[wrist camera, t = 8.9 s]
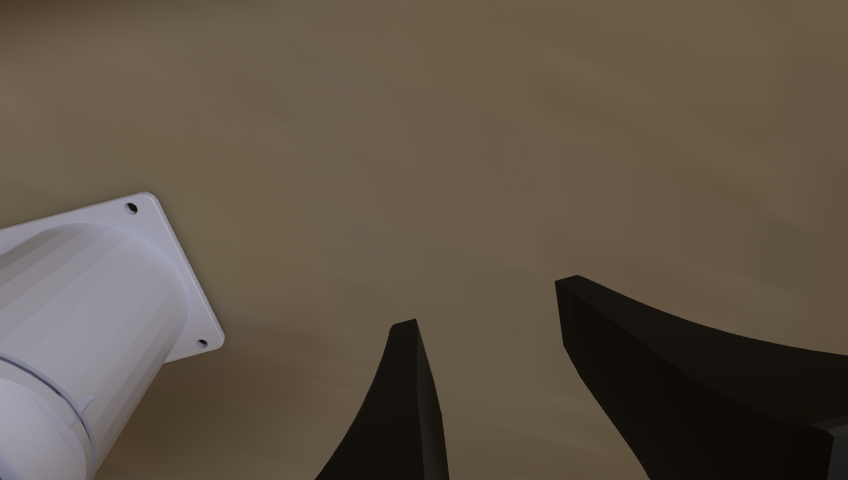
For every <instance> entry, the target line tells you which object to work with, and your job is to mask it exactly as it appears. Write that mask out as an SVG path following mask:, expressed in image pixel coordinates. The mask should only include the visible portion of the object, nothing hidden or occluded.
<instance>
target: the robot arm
mask: <svg viewBox="0 0 848 480" xmlns="http://www.w3.org/2000/svg"><path fill="white" fill-rule="evenodd" d="M128 203H133V204H135V205H136V206H137V209H138V211H137V212H134V211H132V210H130V209H129V207H128ZM555 287H556V294H557V302H558V309H559V317H560V324H561V331H562V339H563V345H564V347H565V349H566V351H567V353H568V355H569V357H570V359H571V361H572V363H573V365H574V366H575V368H576V370H577V372H578V374H579V376H580V377H581V379H582V380H583V382H584V383H585V385H586V386H587V387H588V389H589V390H590V392H591V393H592V395H593V396H594V397H595V399H596V400H597V402H598V403H599V404H600V406H601V407H602V409H603V410H604V411H605V413H606V414H607V416H608V417H609V418H610V420H611V421H612V423H613V424H614V425H615V427H616V428H617V430H618V431H619V433H620V434H621V435H622V437H623V438H624V440H625V441H626V442H627V444H628V445H629V447H630V448H631V449H632V451H633V453H634V454H635V456H636V457H637V459H638V460H639V462H640V463H641V465H642V466H643V468H644V470H645V472H646V473H647V475H648V477H649V479H650V480H848V356H847V355H840V354H834V353H827V352H820V351H813V350H807V349H802V348H796V347H790V346H785V345H780V344H776V343H771V342H766V341H762V340H757V339H752V338H748V337H744V336H740V335H736V334H732V333H728V332H725V331H721V330H718V329H714V328H711V327H707V326H704V325H700V324H697V323H694V322H691V321H688V320H685V319H682V318H680V317H677V316H674V315H671V314H669V313H666V312H663V311H660V310H658V309H655V308H653V307H650V306H648V305H645V304H643V303H641V302H638V301H636V300H634V299H631V298H629V297H627V296H624V295H622V294H620V293H618V292H615V291H613V290H611V289H609V288H607V287H604V286H602V285H600V284H598V283H596V282H593V281H591V280H589V279H586V278H584V277H582V276H579V275H575V276H572V277H568V278H564V279H561V280H557V281H555ZM199 340H205V341H206V342H207V344H202V343H200V342H199ZM224 340H225V335H224V333H223V331H222V329H221V327H220V325H219V323H218V321H217V319H216V317H215V315H214V313H213V311H212V309H211V307H210V305H209V303H208V301H207V298H206V296H205V294H204V292H203V290H202V288H201V286H200V284H199V282H198V280H197V278H196V276H195V274H194V272H193V270H192V268H191V266H190V264H189V262H188V260H187V258H186V256H185V254H184V252H183V250H182V248H181V246H180V244H179V242H178V240H177V238H176V236H175V234H174V232H173V230H172V228H171V226H170V224H169V222H168V220H167V218H166V216H165V214H164V212H163V210H162V208H161V206H160V203H159V201H158V200H157V198H156V197H155V196H154V195H152V194H151V193H148V192H139V193H135V194H131V195H128V196H124V197H120V198H116V199H112V200H108V201H105V202H101V203H97V204H93V205H89V206H86V207H82V208H78V209H74V210H70V211H66V212H63V213H59V214H55V215H51V216H47V217H44V218H40V219H36V220H32V221H28V222H24V223H21V224H17V225H13V226H9V227H5V228H2V229H0V480H92V479H93V478H94V476H95V474H96V473H97V471H98V469H99V468H100V466H101V464H102V463H103V461H104V460H105V458H106V456H107V455H108V453H109V451H110V450H111V448H112V446H113V445H114V443H115V442H116V440H117V438H118V437H119V435H120V433H121V432H122V430H123V428H124V427H125V425H126V424H127V422H128V420H129V419H130V417H131V415H132V414H133V412H134V410H135V409H136V407H137V406H138V404H139V402H140V401H141V399H142V397H143V396H144V394H145V392H146V391H147V389H148V388H149V386H150V384H151V383H152V381H153V379H154V378H155V376H156V374H157V373H158V371H159V370H160V368H161V366H162V365H163V364H164V363H168V362H171V361H175V360H179V359H182V358H186V357H190V356H193V355H197V354H201V353H204V352H208V351H212V350H215V349H218V348H220V347H221V346H222V345H223V343H224ZM315 480H449V472H448V463H447V455H446V446H445V438H444V430H443V422H442V414H441V410H440V406H439V401H438V397H437V393H436V388H435V384H434V380H433V376H432V373H431V369H430V366H429V362H428V359H427V355H426V352H425V348H424V345H423V341H422V338H421V334H420V331H419V327H418V324H417V320H416V319H412V320H408V321H405V322H401V323H397V324H394V325H393V326H392V327H391V329H390V332H389V336H388V340H387V343H386V347H385V350H384V353H383V356H382V359H381V362H380V364H379V367H378V370H377V372H376V375H375V377H374V380H373V382H372V385H371V387H370V389H369V391H368V393H367V395H366V397H365V400H364V402H363V404H362V406H361V408H360V410H359V412H358V414H357V416H356V418H355V419H354V421H353V423H352V425H351V426H350V428H349V430H348V432H347V433H346V435H345V437H344V438H343V440H342V441H341V443H340V444H339V446H338V447H337V449H336V450H335V452H334V453H333V455H332V456H331V458H330V460H329V461H328V462H327V464H326V465H325V467H324V468H323V469H322V471H321V472H320V473H319V475H318V476H317V477H316V479H315Z"/></svg>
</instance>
